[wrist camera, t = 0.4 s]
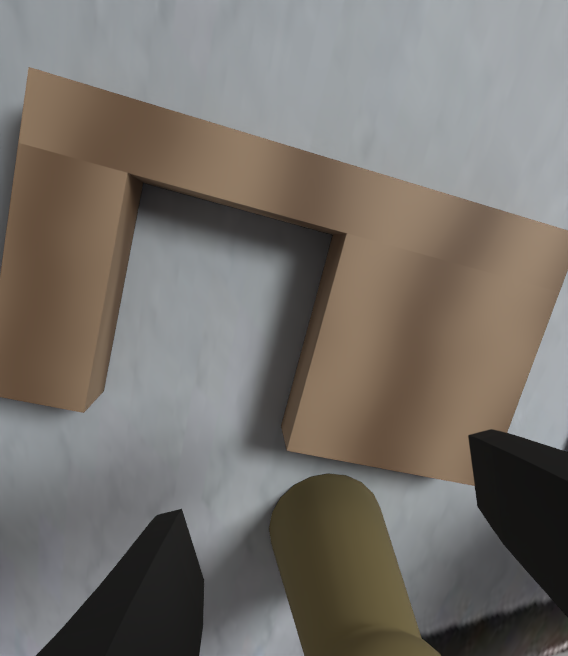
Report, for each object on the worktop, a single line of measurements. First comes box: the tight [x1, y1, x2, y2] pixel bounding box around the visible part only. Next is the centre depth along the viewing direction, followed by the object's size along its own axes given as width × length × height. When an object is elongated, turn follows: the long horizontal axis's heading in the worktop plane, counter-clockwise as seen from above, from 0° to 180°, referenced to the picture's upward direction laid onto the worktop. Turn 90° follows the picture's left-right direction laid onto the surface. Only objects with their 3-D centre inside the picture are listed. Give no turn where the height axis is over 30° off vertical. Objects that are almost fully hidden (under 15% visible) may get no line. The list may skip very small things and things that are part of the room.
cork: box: [269, 474, 441, 656], centre depth 16 cm, size 6×6×11 cm
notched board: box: [0, 67, 568, 486], centre depth 18 cm, size 22×12×2 cm, turn 75°
